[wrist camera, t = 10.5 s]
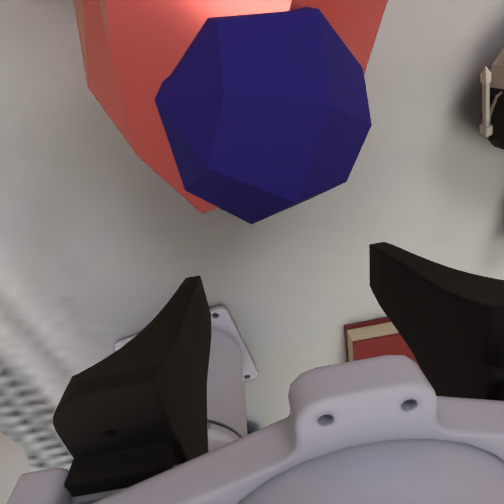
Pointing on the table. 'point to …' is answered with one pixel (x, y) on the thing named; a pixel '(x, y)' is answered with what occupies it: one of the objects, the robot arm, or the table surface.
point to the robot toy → (493, 102)
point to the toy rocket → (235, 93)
